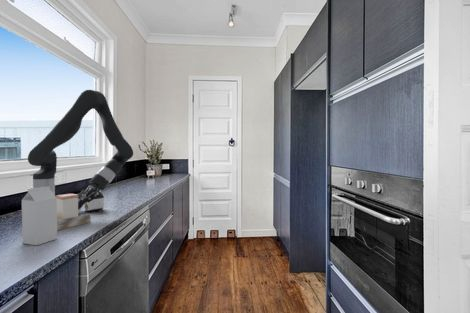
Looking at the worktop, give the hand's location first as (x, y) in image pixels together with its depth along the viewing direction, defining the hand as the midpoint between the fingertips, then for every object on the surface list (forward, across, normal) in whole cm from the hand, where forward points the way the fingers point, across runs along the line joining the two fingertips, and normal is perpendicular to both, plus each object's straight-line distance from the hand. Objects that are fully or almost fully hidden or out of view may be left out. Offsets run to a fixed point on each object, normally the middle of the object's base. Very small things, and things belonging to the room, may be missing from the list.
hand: (76, 208), depth 111 cm
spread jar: (-5, -17, +15) cm, 23 cm away
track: (+7, 0, +2) cm, 8 cm away
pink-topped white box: (+6, 0, +1) cm, 6 cm away
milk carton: (+18, +14, -8) cm, 24 cm away
